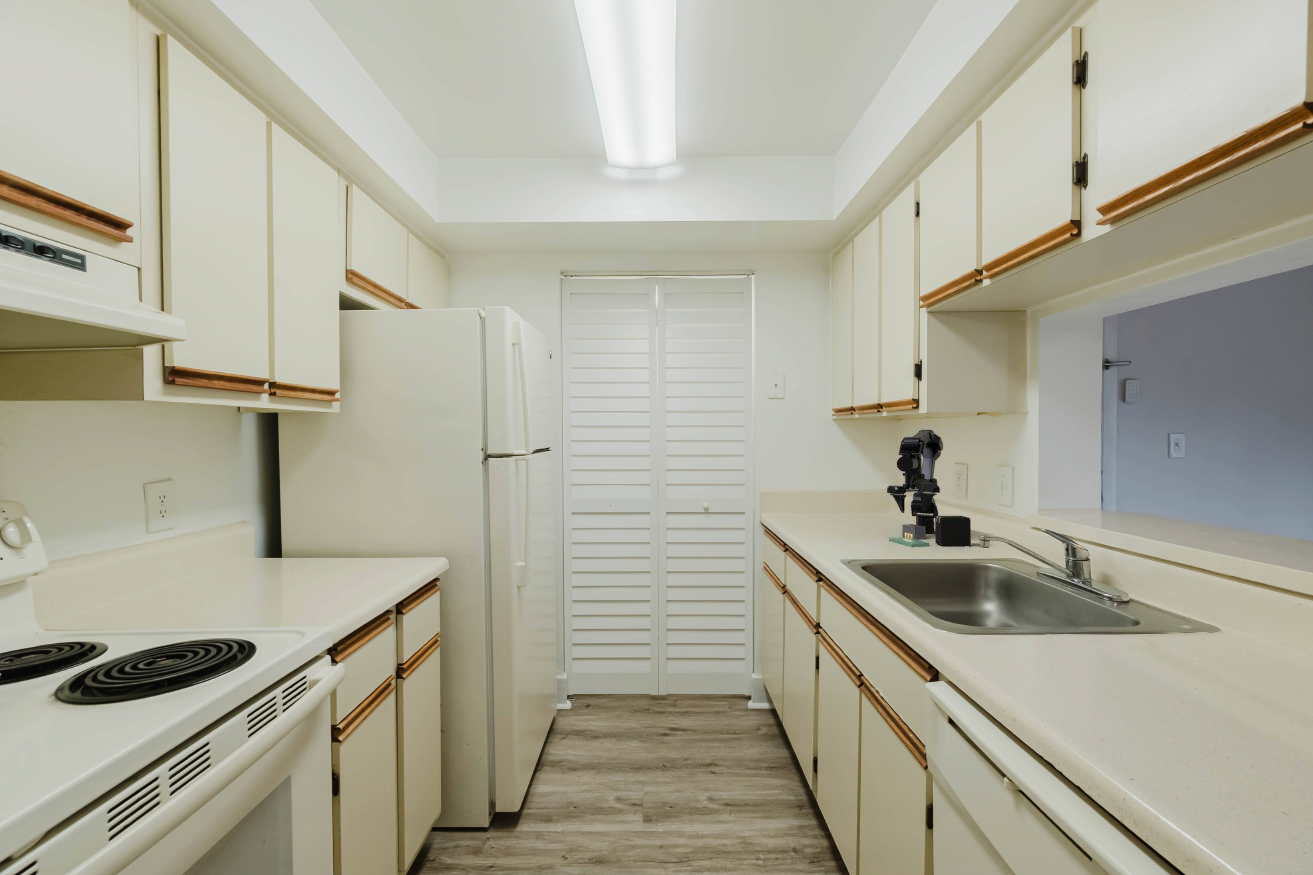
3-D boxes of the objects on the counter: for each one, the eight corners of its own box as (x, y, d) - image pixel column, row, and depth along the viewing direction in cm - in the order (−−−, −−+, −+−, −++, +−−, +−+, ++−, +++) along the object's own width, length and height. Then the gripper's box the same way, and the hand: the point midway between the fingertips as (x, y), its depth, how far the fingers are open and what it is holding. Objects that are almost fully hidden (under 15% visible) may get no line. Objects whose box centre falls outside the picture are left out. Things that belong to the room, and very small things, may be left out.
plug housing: (902, 536, 203) (902, 524, 203) (912, 535, 204) (912, 524, 204) (915, 539, 196) (914, 527, 196) (925, 539, 197) (925, 526, 197)
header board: (889, 540, 195) (889, 531, 195) (906, 539, 196) (906, 530, 196) (911, 546, 183) (911, 536, 183) (929, 545, 184) (929, 535, 185)
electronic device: (971, 546, 183) (970, 517, 183) (941, 546, 183) (941, 517, 183) (964, 544, 187) (963, 515, 187) (935, 544, 188) (934, 515, 188)
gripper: (905, 472, 191) (906, 516, 191) (950, 471, 195) (951, 514, 195) (885, 470, 202) (886, 512, 201) (929, 469, 206) (929, 510, 205)
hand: (913, 512), depth 200 cm, fingers open, 9 cm apart
